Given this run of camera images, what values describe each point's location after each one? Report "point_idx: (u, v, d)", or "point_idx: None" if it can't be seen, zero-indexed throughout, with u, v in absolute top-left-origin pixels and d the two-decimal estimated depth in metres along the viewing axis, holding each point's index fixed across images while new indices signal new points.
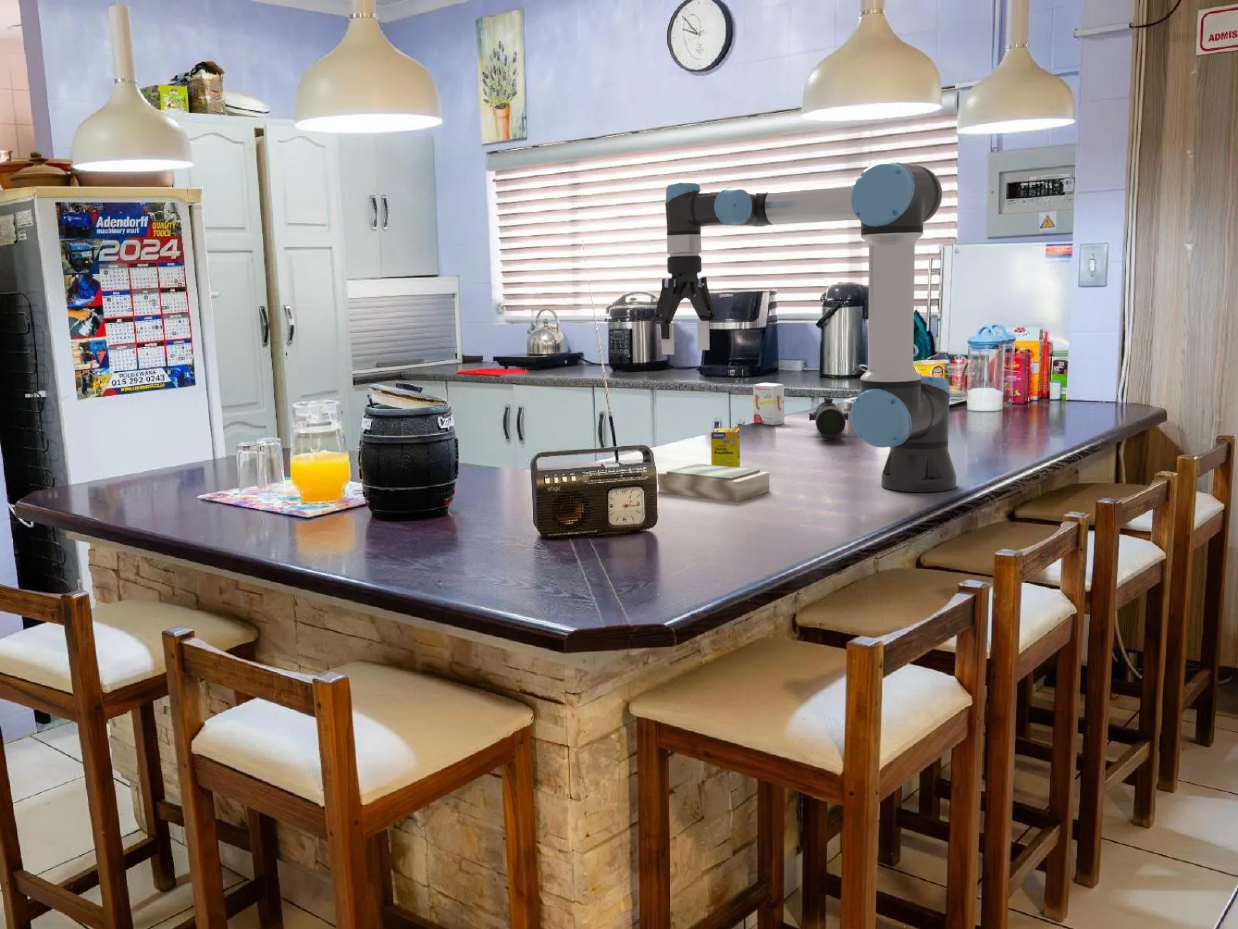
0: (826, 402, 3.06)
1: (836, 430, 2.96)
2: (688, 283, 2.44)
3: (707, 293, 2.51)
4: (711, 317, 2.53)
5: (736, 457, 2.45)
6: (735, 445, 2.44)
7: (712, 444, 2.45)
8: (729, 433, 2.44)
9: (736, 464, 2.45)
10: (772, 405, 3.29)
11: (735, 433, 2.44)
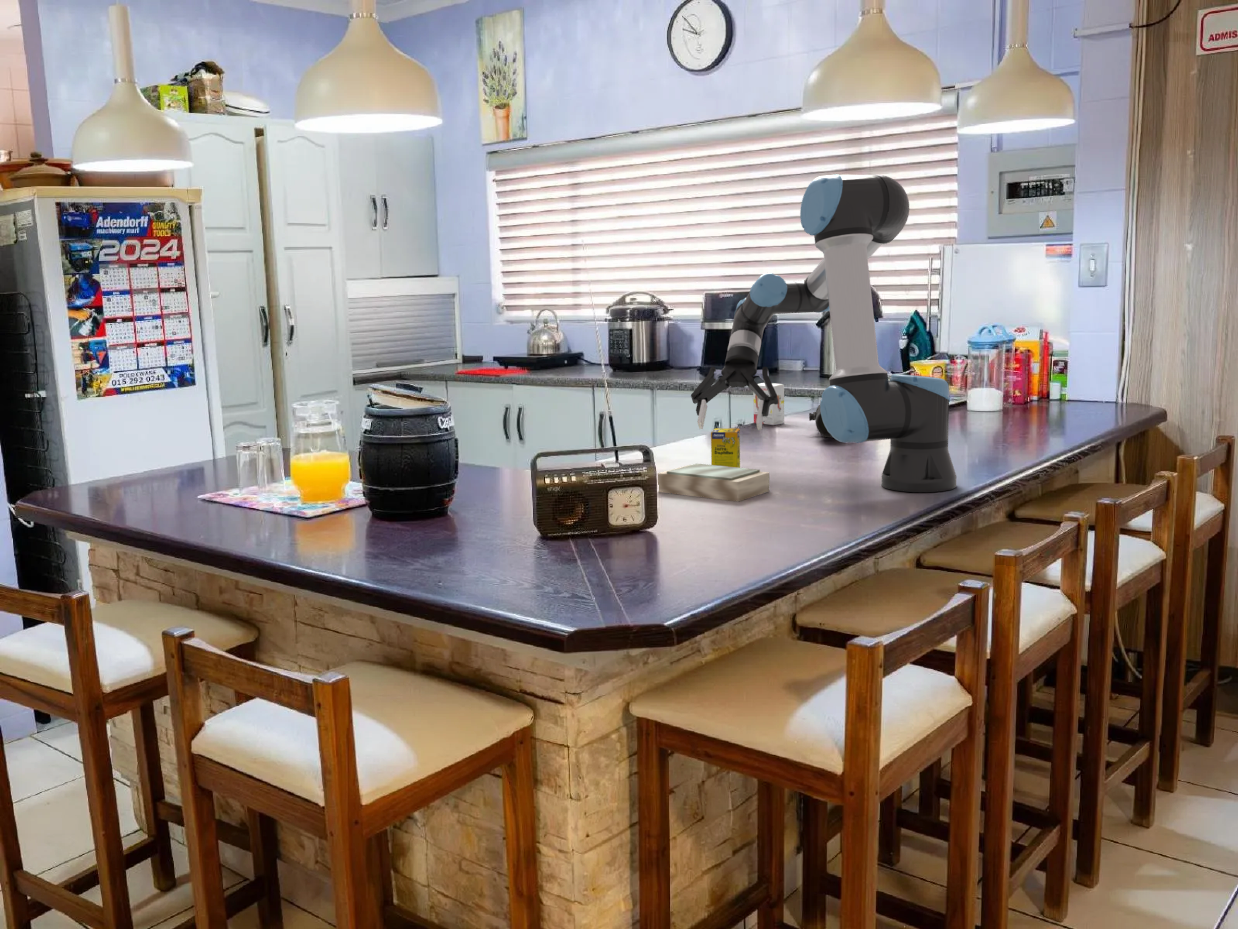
0: None
1: None
2: (731, 369, 2.60)
3: (766, 379, 2.57)
4: None
5: (736, 457, 2.45)
6: (735, 445, 2.44)
7: (712, 444, 2.45)
8: (729, 433, 2.44)
9: (736, 464, 2.45)
10: (772, 405, 3.29)
11: (735, 433, 2.44)
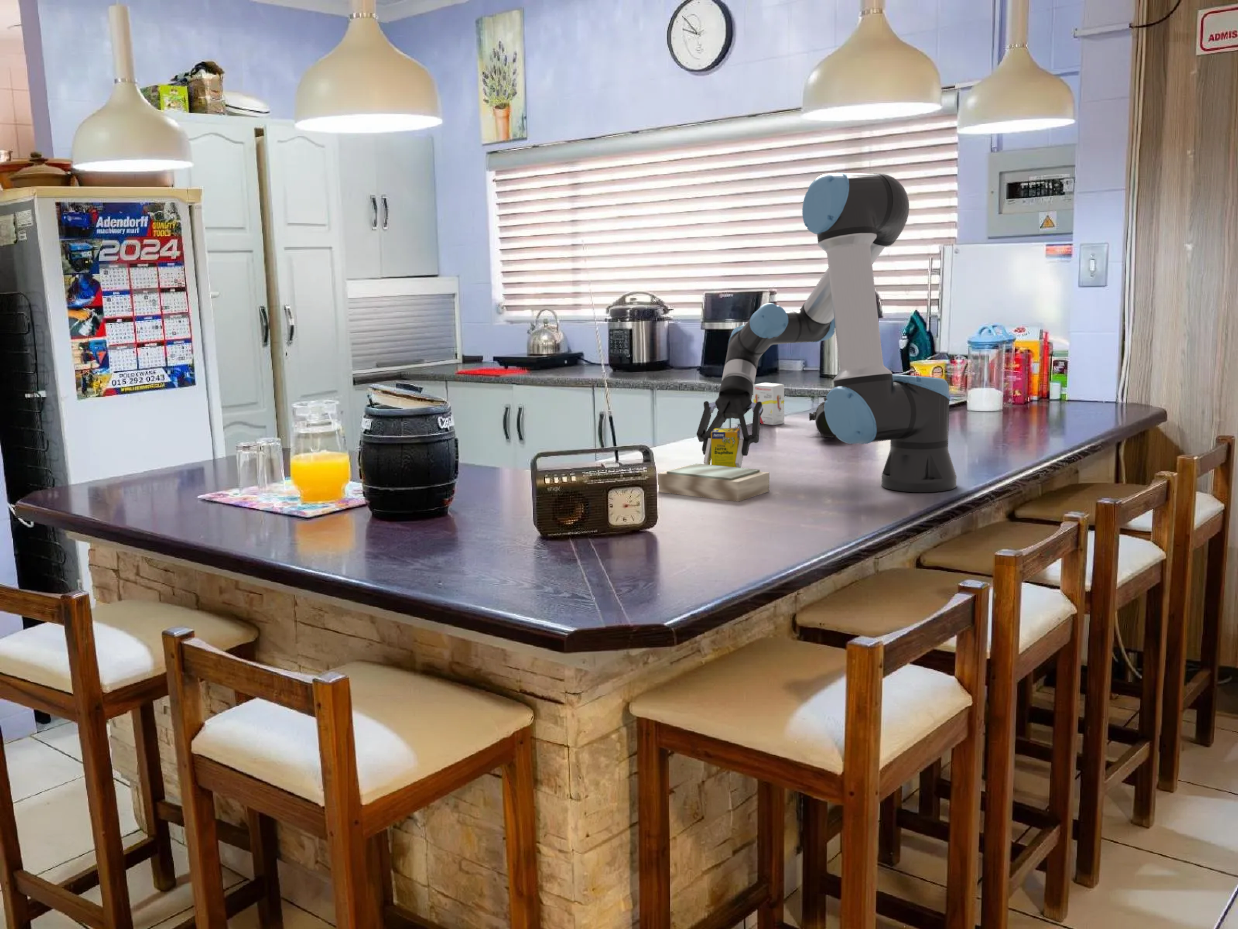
0: None
1: None
2: (725, 399, 2.53)
3: (755, 415, 2.49)
4: None
5: None
6: (735, 445, 2.44)
7: (712, 444, 2.45)
8: (729, 433, 2.44)
9: None
10: (772, 405, 3.29)
11: (735, 433, 2.44)
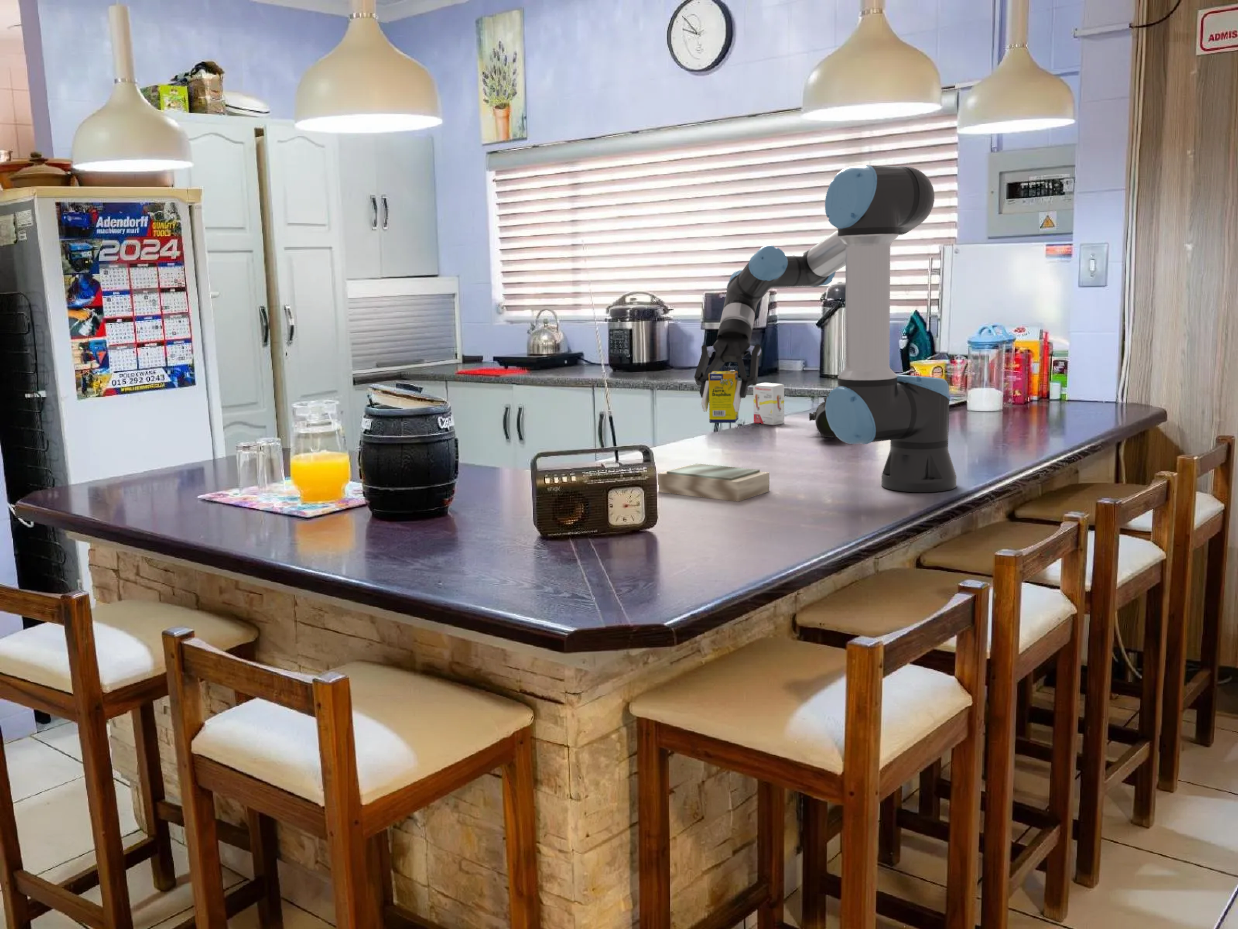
0: None
1: None
2: (723, 343, 2.50)
3: (753, 357, 2.47)
4: None
5: None
6: (733, 387, 2.42)
7: (710, 386, 2.43)
8: (727, 374, 2.42)
9: None
10: (772, 405, 3.29)
11: (733, 374, 2.41)
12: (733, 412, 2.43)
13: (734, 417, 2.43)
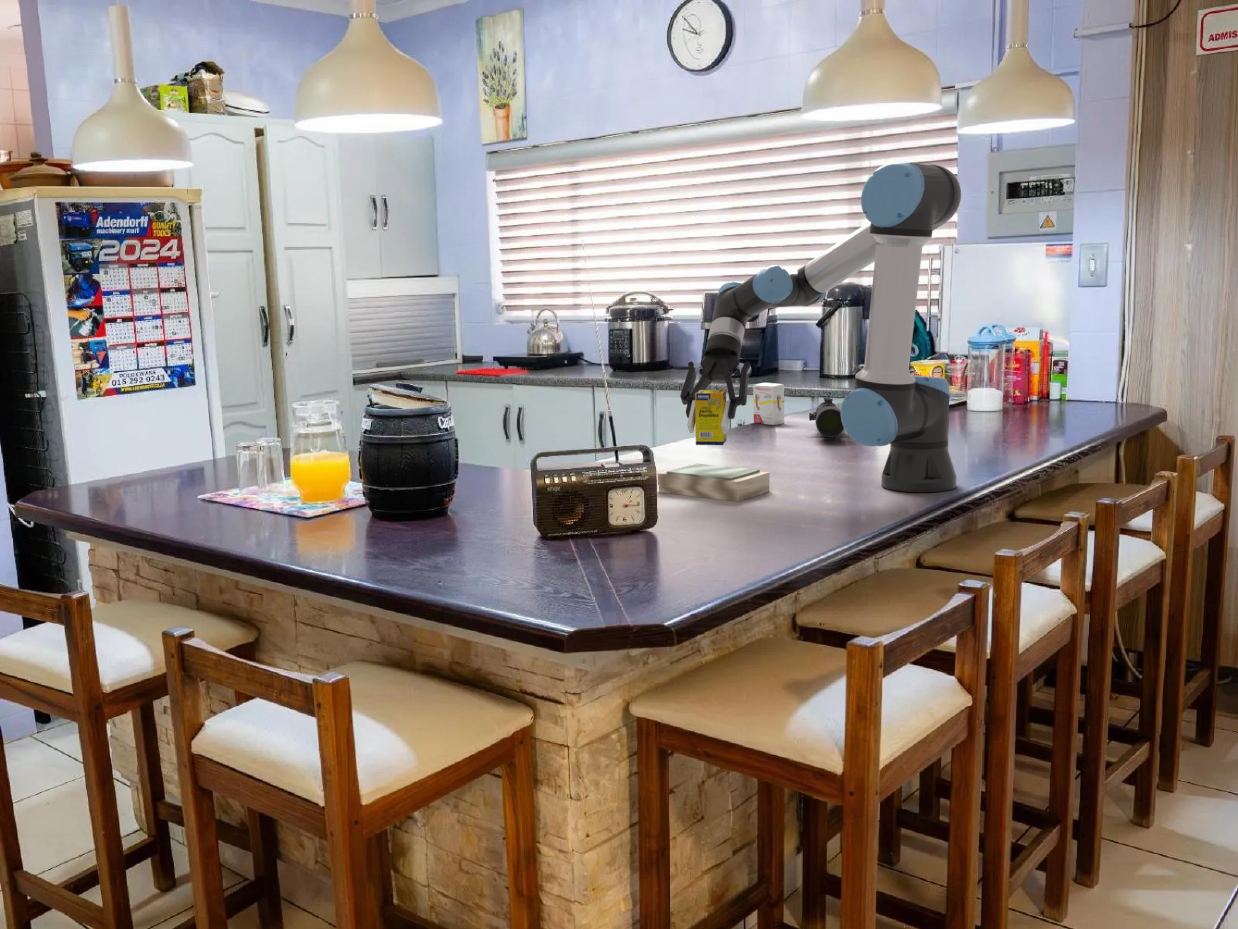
0: (826, 402, 3.06)
1: (836, 430, 2.96)
2: (711, 360, 2.37)
3: (742, 375, 2.33)
4: None
5: None
6: (721, 407, 2.28)
7: (696, 406, 2.29)
8: (714, 394, 2.28)
9: None
10: (772, 405, 3.29)
11: (721, 394, 2.28)
12: (721, 434, 2.29)
13: (722, 439, 2.29)
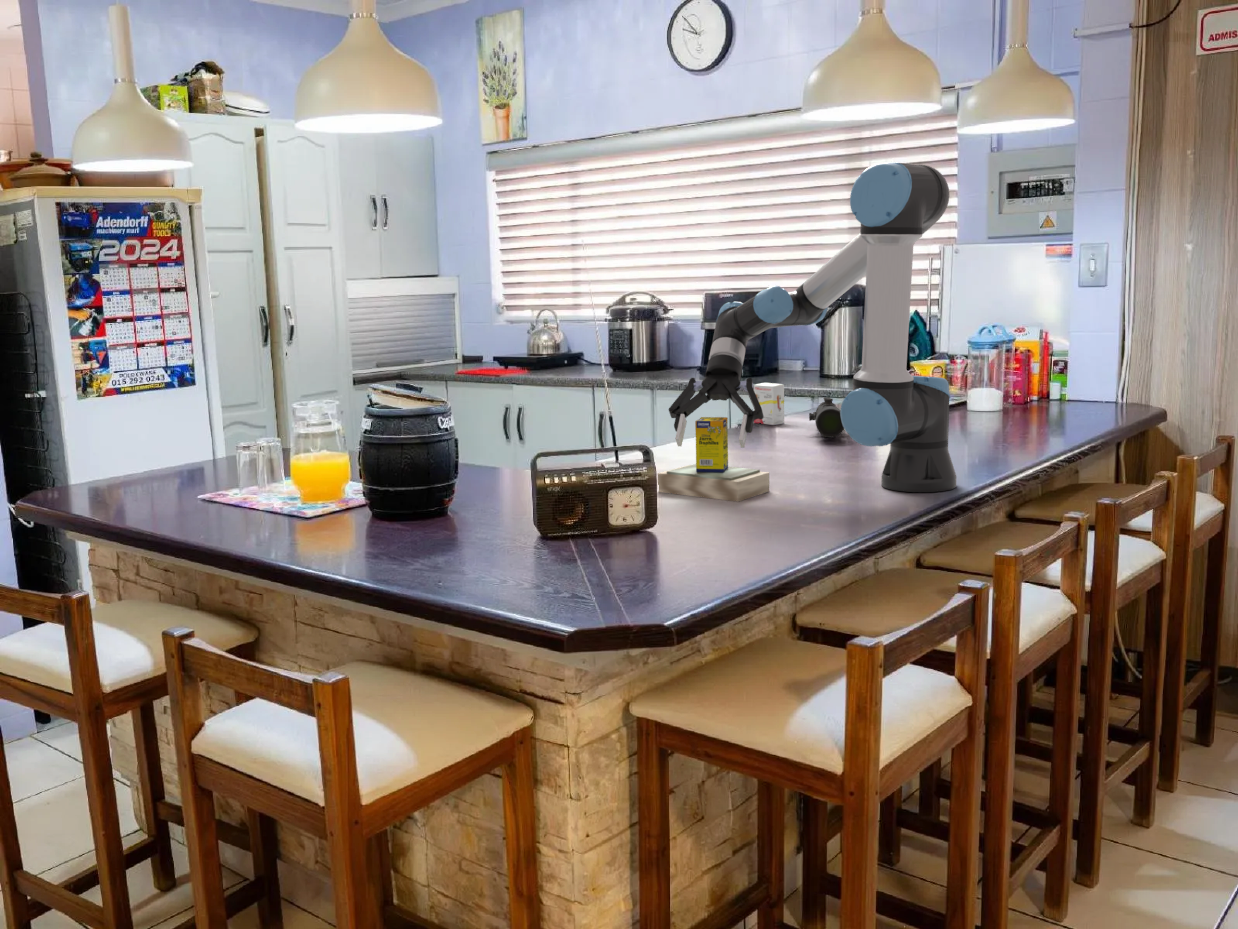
0: (826, 402, 3.06)
1: (836, 430, 2.96)
2: (713, 380, 2.38)
3: (750, 391, 2.34)
4: None
5: (722, 448, 2.30)
6: (721, 435, 2.29)
7: (697, 433, 2.30)
8: (714, 422, 2.29)
9: (722, 455, 2.30)
10: (772, 405, 3.29)
11: (721, 422, 2.29)
12: (721, 461, 2.30)
13: (722, 467, 2.30)
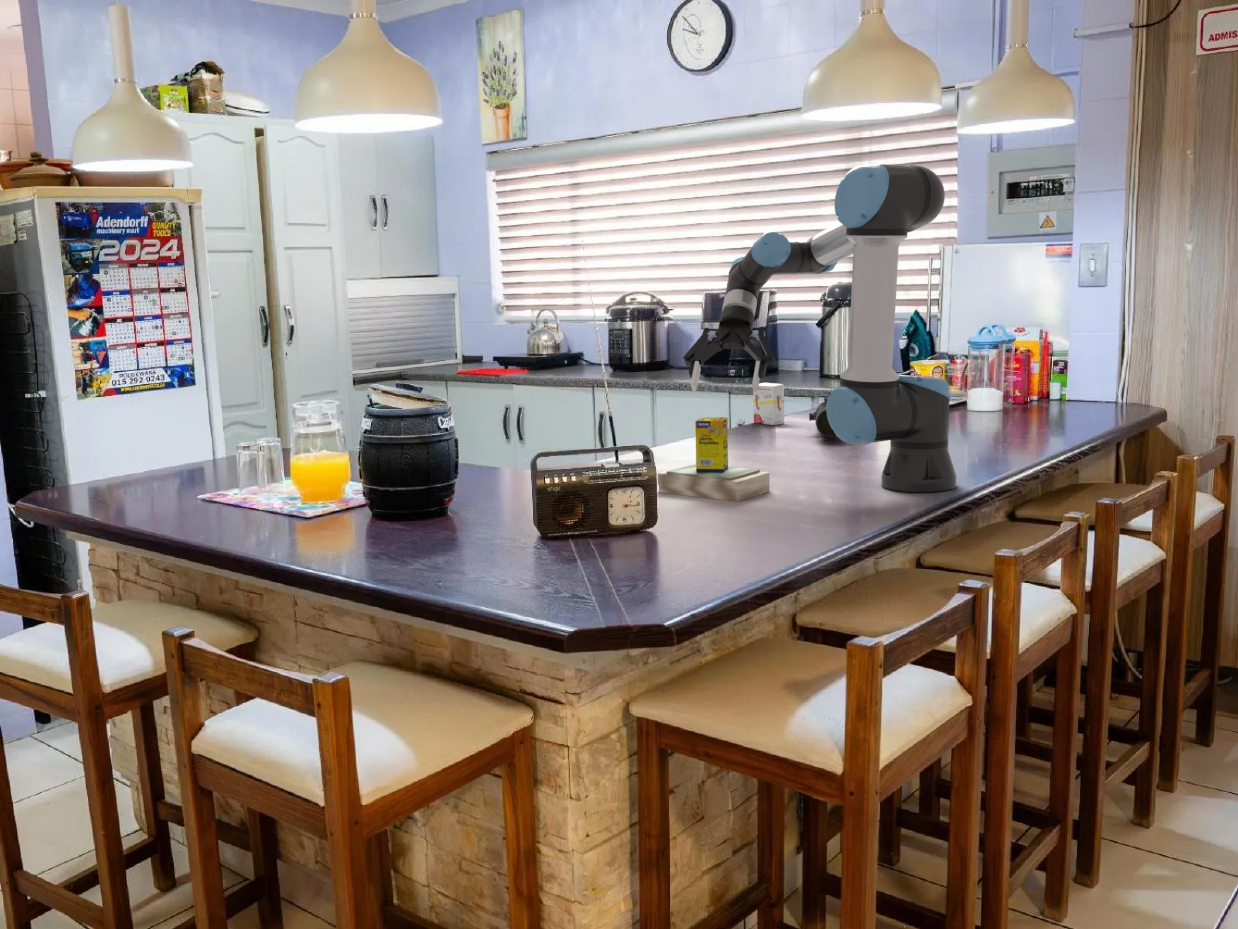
0: (826, 402, 3.06)
1: None
2: (726, 329, 2.48)
3: (762, 339, 2.44)
4: None
5: (722, 448, 2.30)
6: (721, 435, 2.29)
7: (697, 433, 2.30)
8: (714, 422, 2.29)
9: (722, 455, 2.30)
10: (772, 405, 3.29)
11: (721, 422, 2.29)
12: (721, 461, 2.30)
13: (722, 467, 2.30)
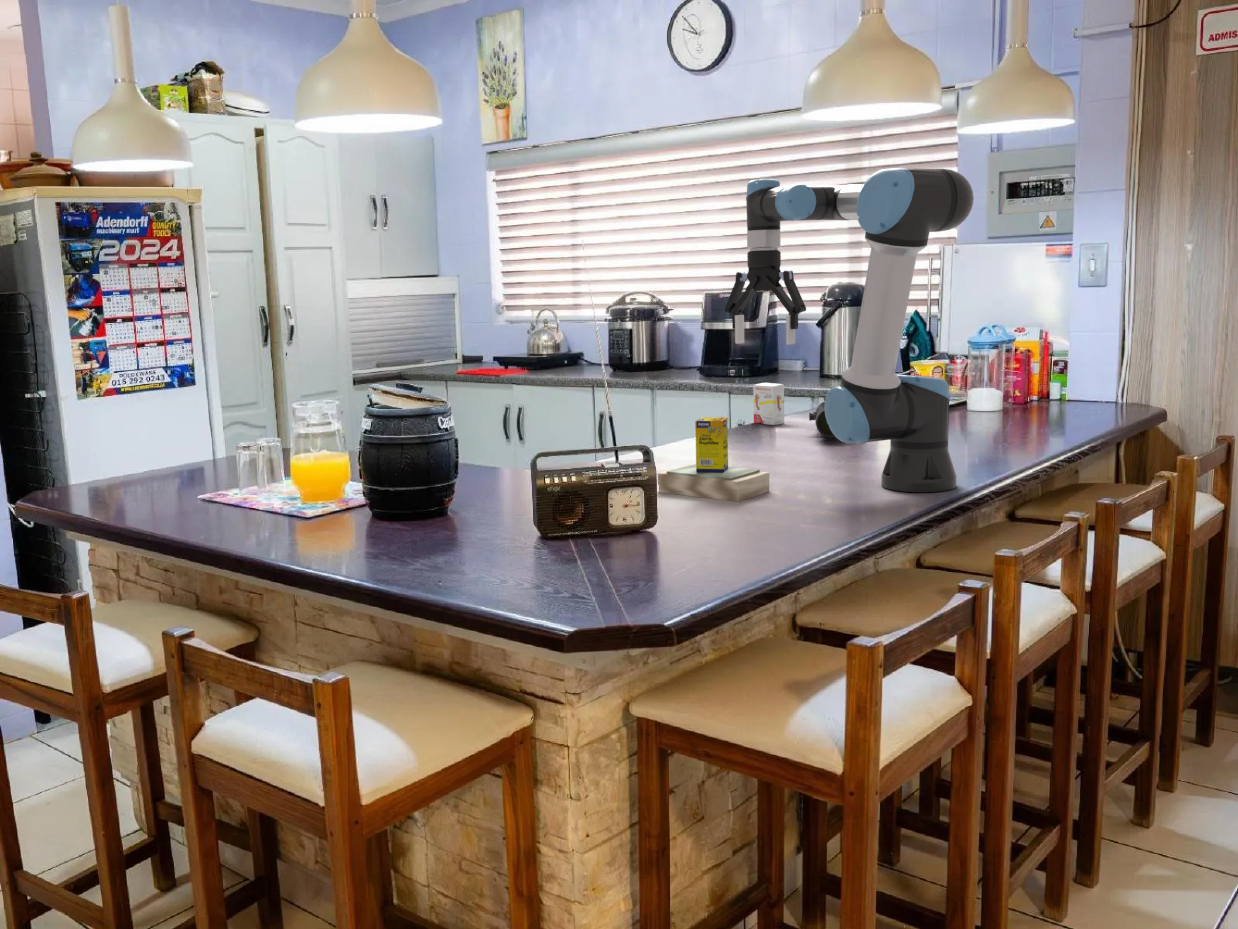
0: None
1: None
2: (754, 277, 2.54)
3: (788, 287, 2.50)
4: None
5: (722, 448, 2.30)
6: (721, 435, 2.29)
7: (697, 433, 2.30)
8: (714, 422, 2.29)
9: (722, 455, 2.30)
10: (772, 405, 3.29)
11: (721, 422, 2.29)
12: (721, 461, 2.30)
13: (722, 467, 2.30)
